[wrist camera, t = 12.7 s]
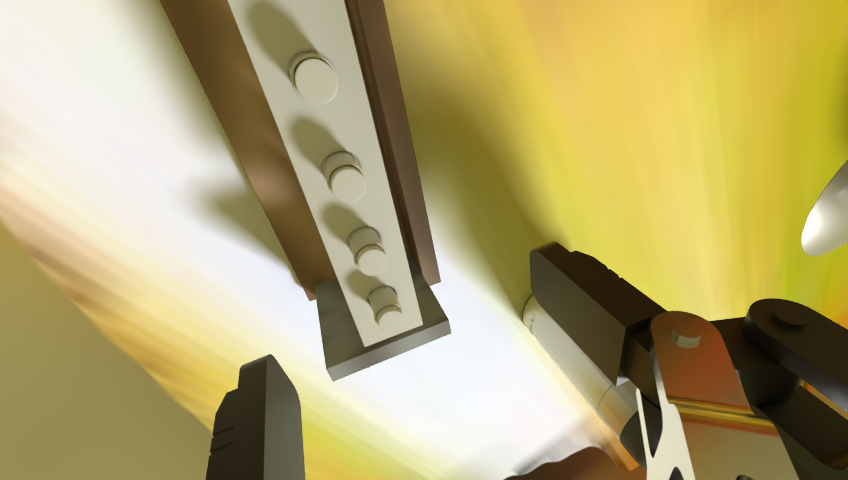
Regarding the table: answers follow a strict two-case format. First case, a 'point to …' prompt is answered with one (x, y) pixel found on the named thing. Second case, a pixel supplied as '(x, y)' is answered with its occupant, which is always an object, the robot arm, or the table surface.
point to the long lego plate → (334, 152)
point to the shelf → (278, 183)
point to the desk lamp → (828, 218)
